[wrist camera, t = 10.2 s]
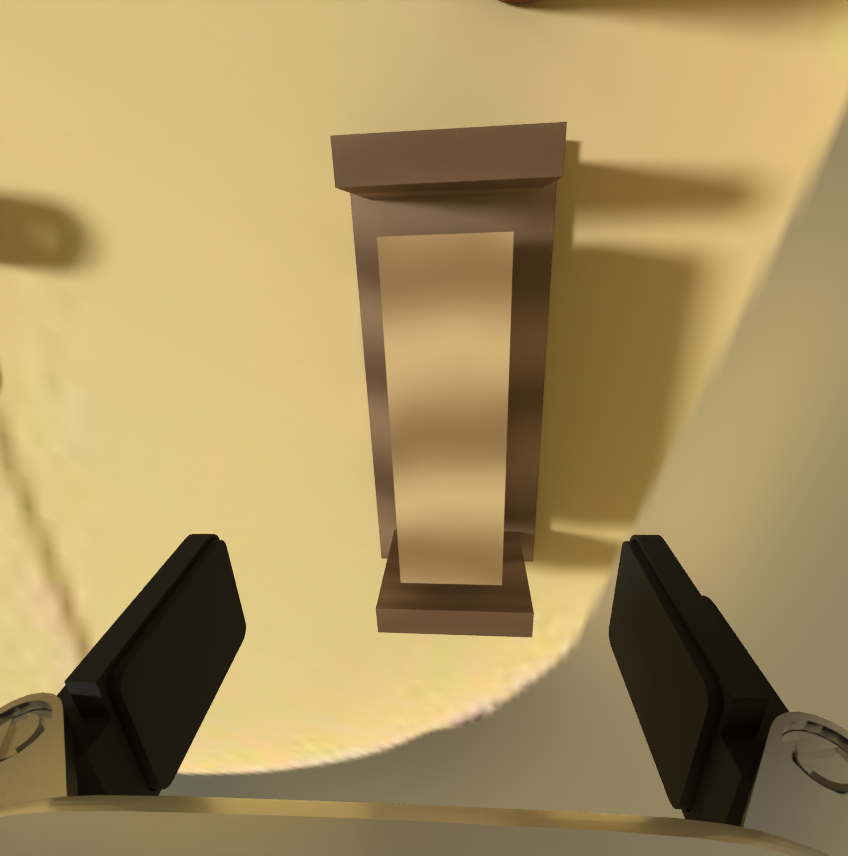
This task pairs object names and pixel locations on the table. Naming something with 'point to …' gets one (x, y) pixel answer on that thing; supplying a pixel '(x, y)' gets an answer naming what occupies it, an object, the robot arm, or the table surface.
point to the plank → (448, 400)
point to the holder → (532, 255)
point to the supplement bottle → (514, 1)
